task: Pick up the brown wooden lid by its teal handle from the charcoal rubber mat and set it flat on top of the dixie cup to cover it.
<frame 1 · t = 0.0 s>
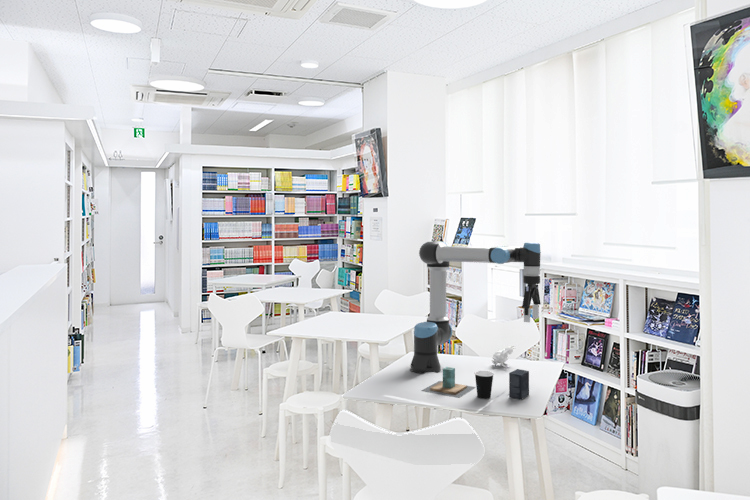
hand: (531, 320, 249), 28 cm above the table, tool pointing down, fingers open, 13 cm apart
character figurine: (503, 366, 274), on the table
lid: (448, 388, 230), point 1 cm above the table, touching mat
dixie cup: (483, 399, 219), on the table
mat: (448, 391, 230), on the table
box: (519, 396, 223), on the table
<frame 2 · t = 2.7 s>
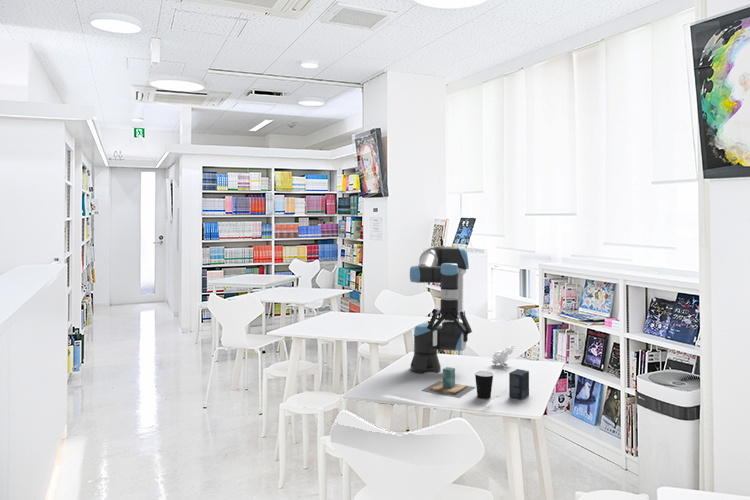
hand: (448, 347, 229), 19 cm above the table, tool pointing down, fingers open, 13 cm apart
nothing on the table moved.
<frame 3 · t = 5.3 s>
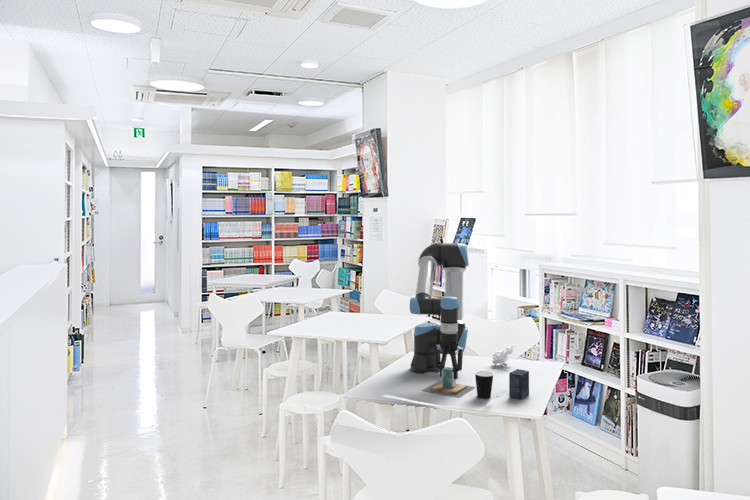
hand: (448, 385, 230), 3 cm above the table, tool pointing down, fingers closed on lid, 4 cm apart
lid: (448, 388, 230), point 1 cm above the table, touching gripper, mat
everything else where it was.
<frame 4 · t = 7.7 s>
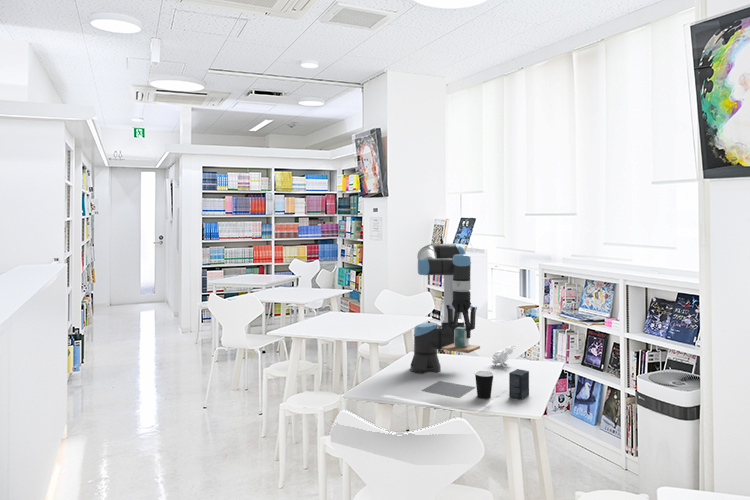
hand: (461, 345, 225), 21 cm above the table, tool pointing down, fingers closed on lid, 4 cm apart
lid: (461, 349, 225), point 20 cm above the table, touching gripper
everything else where it was.
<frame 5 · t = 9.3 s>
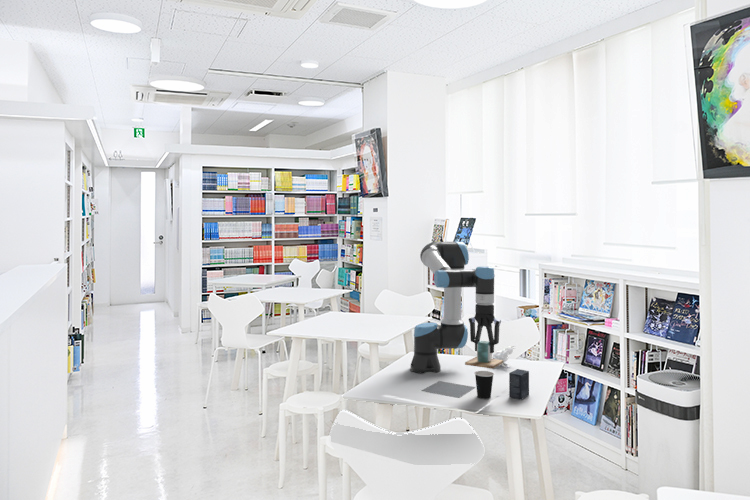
hand: (484, 359, 218), 17 cm above the table, tool pointing down, fingers closed on lid, 4 cm apart
lid: (484, 363, 218), point 15 cm above the table, touching gripper
everything else where it was.
when the fingers open (14 cm above the table, at t = 10.5 s): lid drops 2 cm, resting on dixie cup.
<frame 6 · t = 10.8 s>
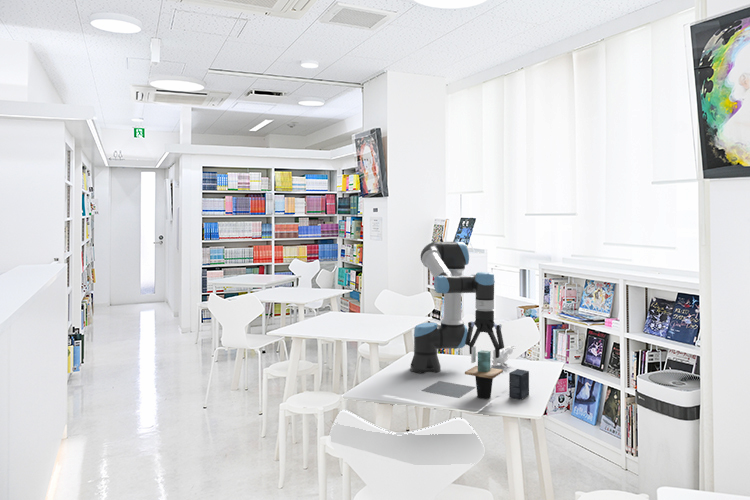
hand: (484, 363, 219), 15 cm above the table, tool pointing down, fingers open, 9 cm apart
lid: (484, 373, 219), point 11 cm above the table, touching dixie cup
dixie cup: (483, 399, 219), on the table, touching lid
everything else where it was.
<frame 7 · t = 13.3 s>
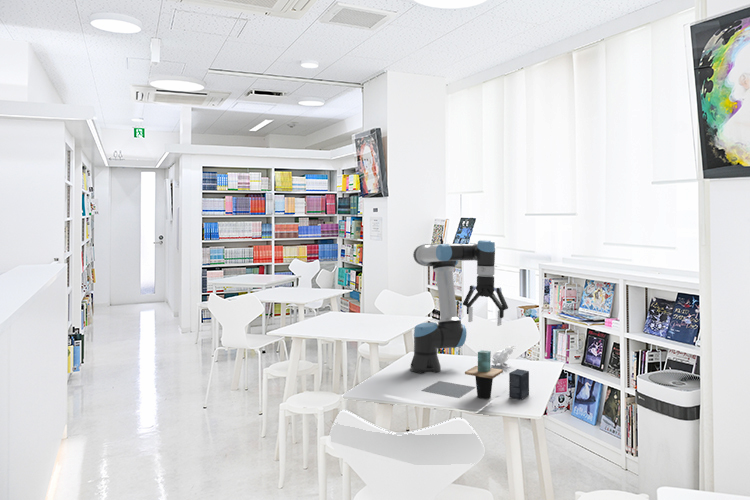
hand: (484, 323, 232), 29 cm above the table, tool pointing down, fingers open, 13 cm apart
nothing on the table moved.
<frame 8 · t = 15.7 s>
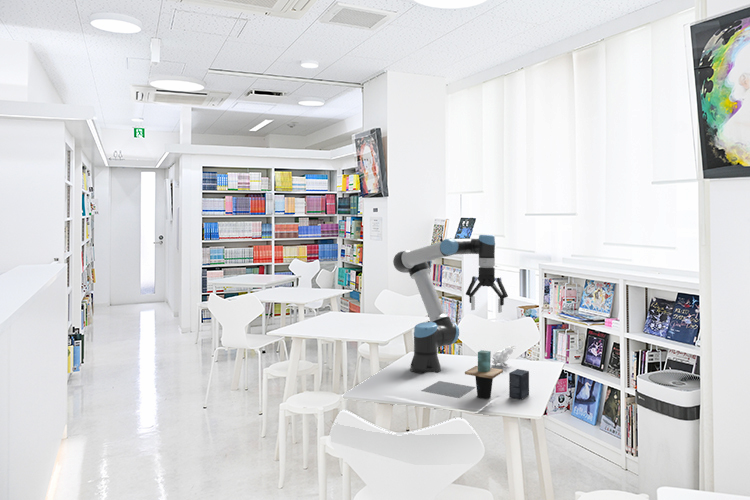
hand: (486, 311, 252), 32 cm above the table, tool pointing down, fingers open, 13 cm apart
nothing on the table moved.
at the end: lid 0.1 cm from the dixie cup (horizontally); lid point 11.0 cm above the table; lid tilted 0° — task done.
